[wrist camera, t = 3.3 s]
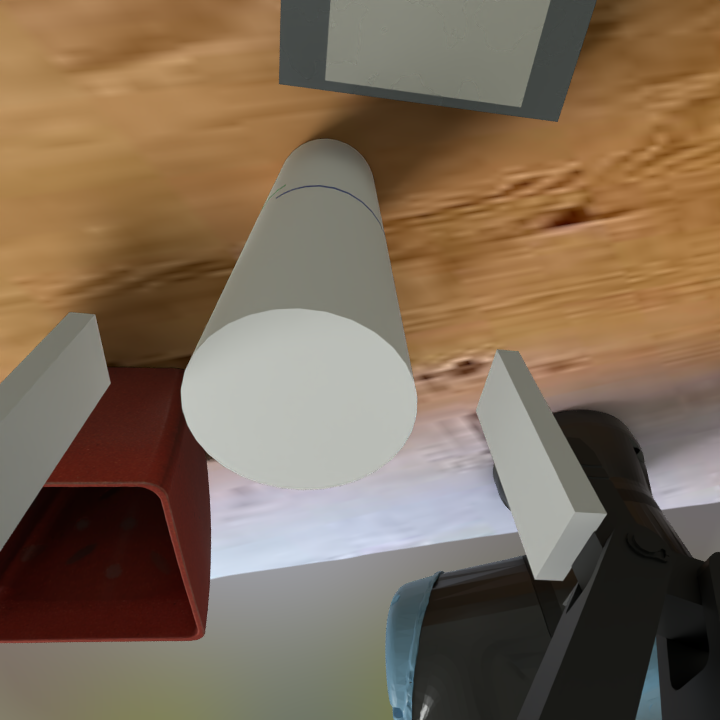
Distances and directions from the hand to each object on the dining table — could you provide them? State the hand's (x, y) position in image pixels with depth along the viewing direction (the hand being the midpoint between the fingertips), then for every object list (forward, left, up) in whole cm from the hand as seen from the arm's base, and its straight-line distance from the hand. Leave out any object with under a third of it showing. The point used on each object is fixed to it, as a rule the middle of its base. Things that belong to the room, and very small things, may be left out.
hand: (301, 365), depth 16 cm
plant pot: (+17, +24, -23) cm, 38 cm away
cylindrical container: (0, 0, -23) cm, 23 cm away
